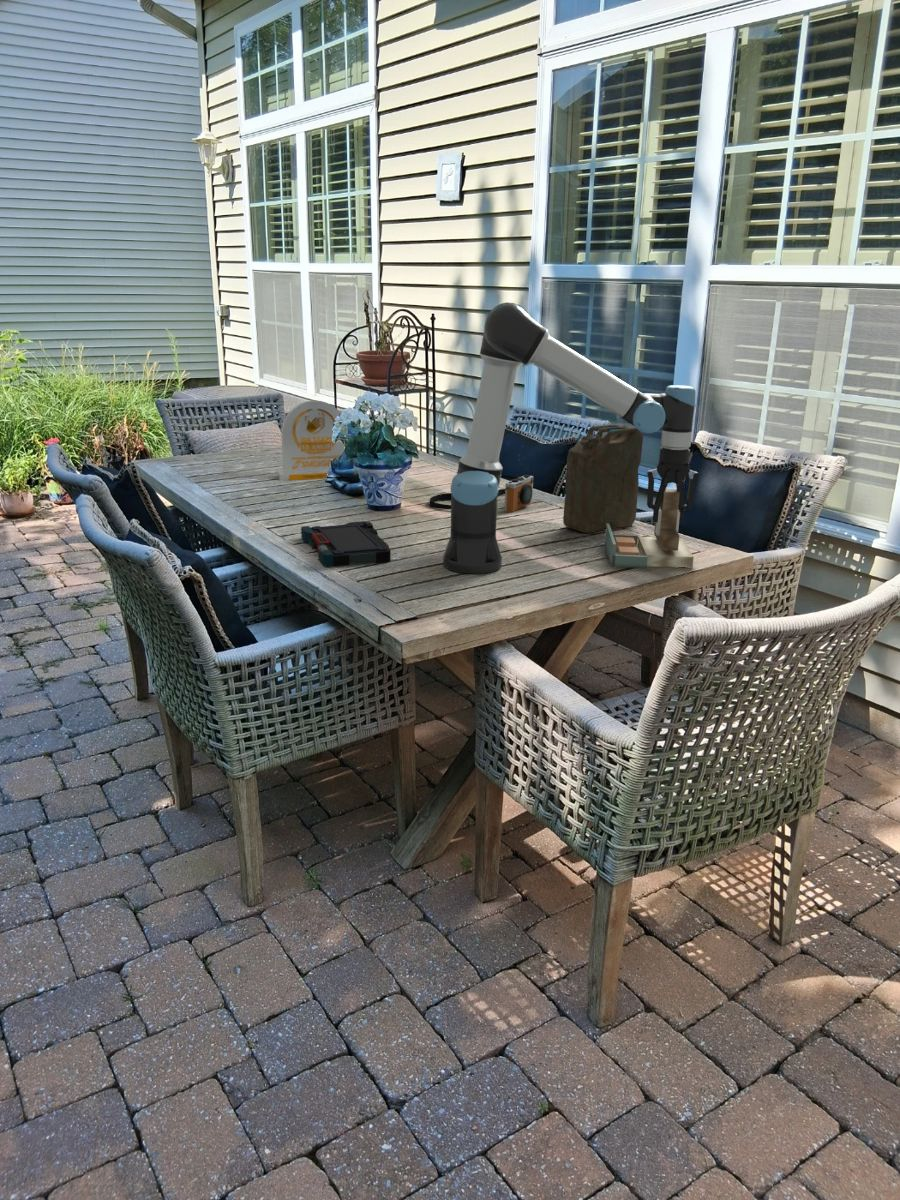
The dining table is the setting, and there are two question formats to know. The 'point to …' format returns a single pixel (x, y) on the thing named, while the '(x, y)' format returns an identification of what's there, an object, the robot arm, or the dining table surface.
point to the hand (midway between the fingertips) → (666, 534)
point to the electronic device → (346, 544)
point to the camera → (515, 494)
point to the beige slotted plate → (665, 554)
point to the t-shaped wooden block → (669, 521)
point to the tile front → (628, 551)
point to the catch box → (622, 559)
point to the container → (603, 479)
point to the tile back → (624, 542)
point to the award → (308, 441)
